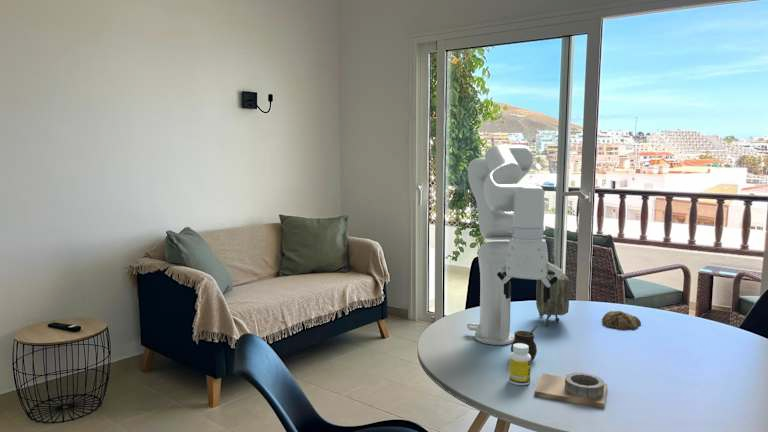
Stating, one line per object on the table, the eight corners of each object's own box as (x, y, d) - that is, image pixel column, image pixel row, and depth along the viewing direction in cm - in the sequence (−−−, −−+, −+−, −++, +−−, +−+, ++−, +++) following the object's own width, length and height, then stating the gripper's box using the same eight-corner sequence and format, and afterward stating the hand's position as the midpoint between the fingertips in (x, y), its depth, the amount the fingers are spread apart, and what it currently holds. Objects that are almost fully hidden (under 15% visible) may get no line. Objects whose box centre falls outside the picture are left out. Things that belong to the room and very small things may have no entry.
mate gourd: (505, 357, 161) (506, 324, 160) (526, 354, 164) (527, 321, 163) (520, 366, 154) (521, 331, 153) (542, 362, 157) (543, 328, 156)
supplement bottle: (530, 386, 140) (532, 350, 139) (509, 385, 142) (510, 348, 140) (529, 378, 146) (530, 342, 145) (508, 376, 147) (509, 341, 146)
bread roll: (606, 317, 200) (606, 304, 199) (643, 323, 192) (643, 310, 192) (596, 326, 189) (597, 312, 189) (635, 333, 182) (636, 319, 182)
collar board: (534, 395, 135) (534, 381, 135) (542, 377, 146) (542, 364, 146) (604, 408, 128) (604, 393, 128) (607, 388, 139) (607, 374, 139)
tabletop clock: (535, 315, 202) (537, 248, 199) (561, 316, 200) (563, 248, 198) (541, 327, 187) (543, 255, 185) (568, 328, 186) (571, 256, 183)
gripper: (490, 234, 141) (490, 299, 142) (560, 237, 133) (559, 306, 135) (498, 230, 148) (497, 293, 149) (565, 234, 140) (563, 299, 142)
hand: (526, 299), depth 142 cm, fingers open, 9 cm apart
